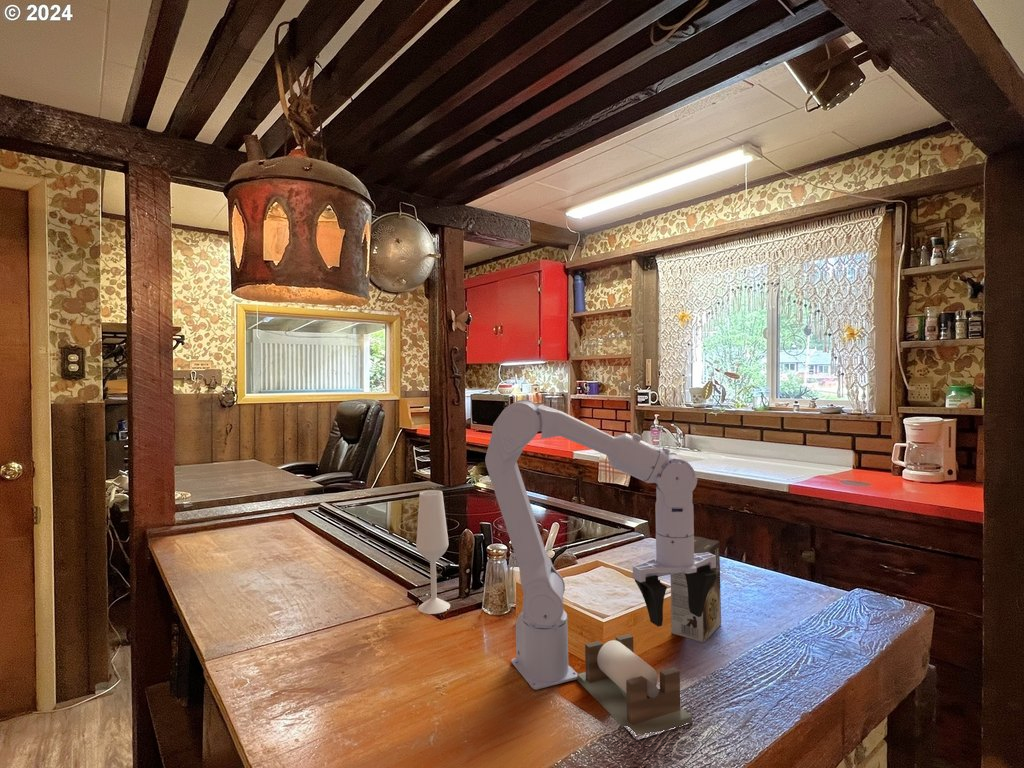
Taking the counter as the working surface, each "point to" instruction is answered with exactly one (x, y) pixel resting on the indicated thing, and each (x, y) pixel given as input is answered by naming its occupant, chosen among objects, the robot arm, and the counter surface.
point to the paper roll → (625, 666)
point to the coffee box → (711, 615)
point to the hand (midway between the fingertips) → (676, 618)
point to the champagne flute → (432, 542)
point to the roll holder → (635, 694)
